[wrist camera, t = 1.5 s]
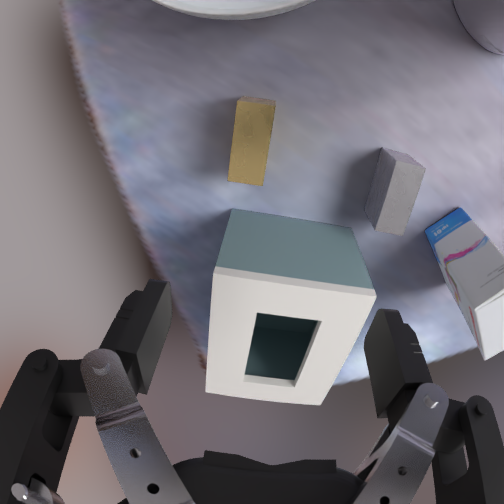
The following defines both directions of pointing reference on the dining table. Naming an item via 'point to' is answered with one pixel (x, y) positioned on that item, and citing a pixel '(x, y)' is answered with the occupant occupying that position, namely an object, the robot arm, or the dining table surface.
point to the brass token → (251, 140)
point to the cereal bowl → (233, 8)
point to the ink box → (472, 276)
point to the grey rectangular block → (393, 191)
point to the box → (284, 307)
